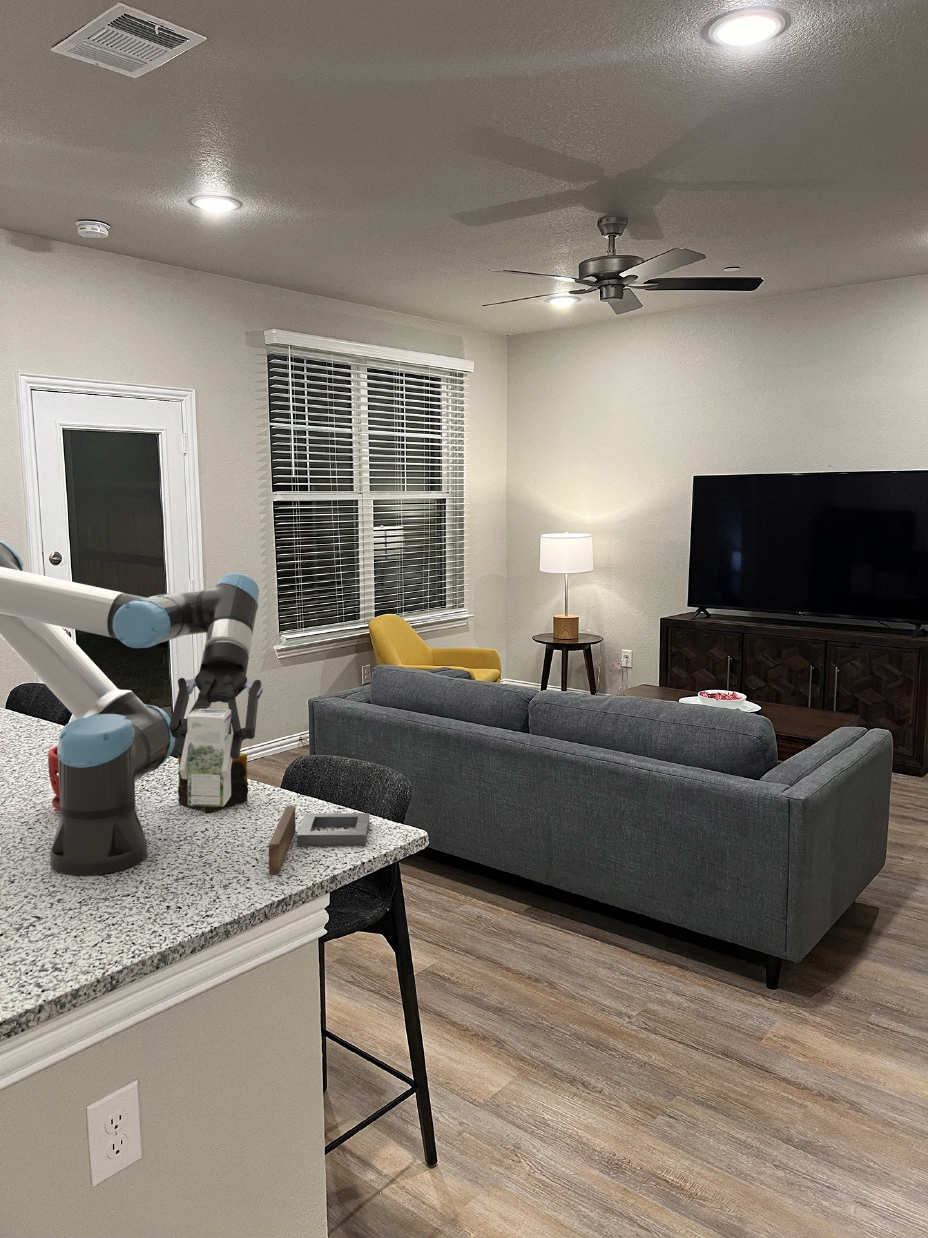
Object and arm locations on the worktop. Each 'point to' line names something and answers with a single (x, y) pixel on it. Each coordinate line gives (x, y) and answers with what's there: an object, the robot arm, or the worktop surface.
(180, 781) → the candle
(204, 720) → the syrup box
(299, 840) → the block
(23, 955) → the worktop surface
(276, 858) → the rail
